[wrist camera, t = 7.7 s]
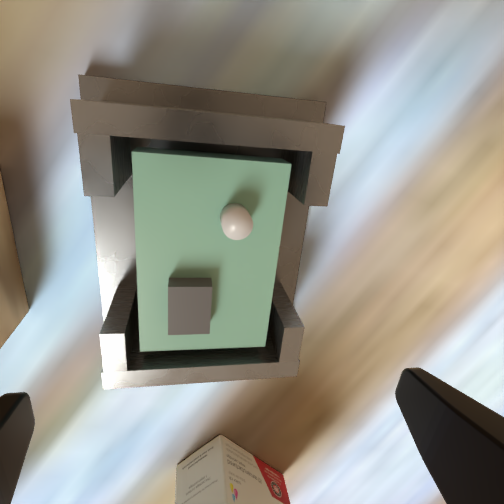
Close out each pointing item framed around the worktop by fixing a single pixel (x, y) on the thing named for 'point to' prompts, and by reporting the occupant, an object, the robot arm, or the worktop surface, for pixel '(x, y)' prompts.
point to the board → (206, 246)
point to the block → (9, 276)
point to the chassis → (201, 140)
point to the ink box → (227, 477)
